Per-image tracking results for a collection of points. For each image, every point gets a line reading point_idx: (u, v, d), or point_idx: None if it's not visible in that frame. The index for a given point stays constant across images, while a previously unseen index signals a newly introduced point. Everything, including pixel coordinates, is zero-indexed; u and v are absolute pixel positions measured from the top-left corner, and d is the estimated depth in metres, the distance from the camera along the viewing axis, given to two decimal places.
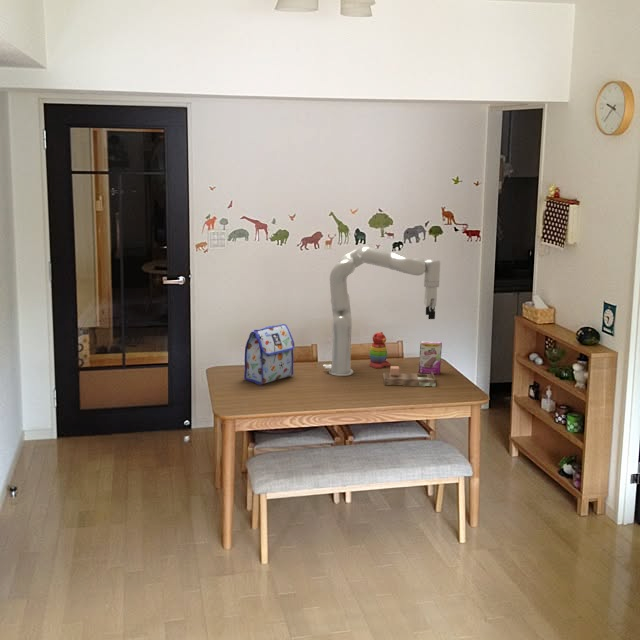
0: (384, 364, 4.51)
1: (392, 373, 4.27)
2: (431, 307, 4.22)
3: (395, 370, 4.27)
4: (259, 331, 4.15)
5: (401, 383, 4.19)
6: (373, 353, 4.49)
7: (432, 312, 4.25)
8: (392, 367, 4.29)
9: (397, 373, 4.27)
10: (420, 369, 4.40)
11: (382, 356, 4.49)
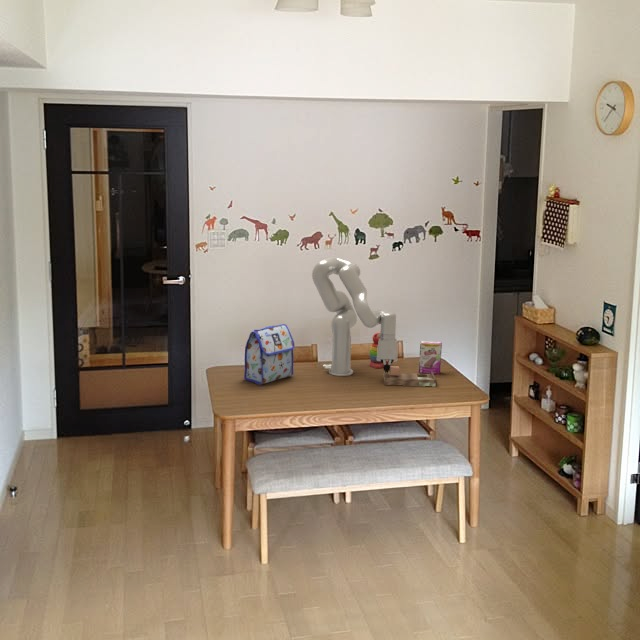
0: None
1: (392, 373, 4.27)
2: (393, 361, 4.27)
3: (395, 370, 4.27)
4: (259, 331, 4.15)
5: (401, 383, 4.19)
6: (373, 353, 4.49)
7: (389, 365, 4.29)
8: (392, 367, 4.29)
9: (397, 373, 4.27)
10: (420, 369, 4.40)
11: None
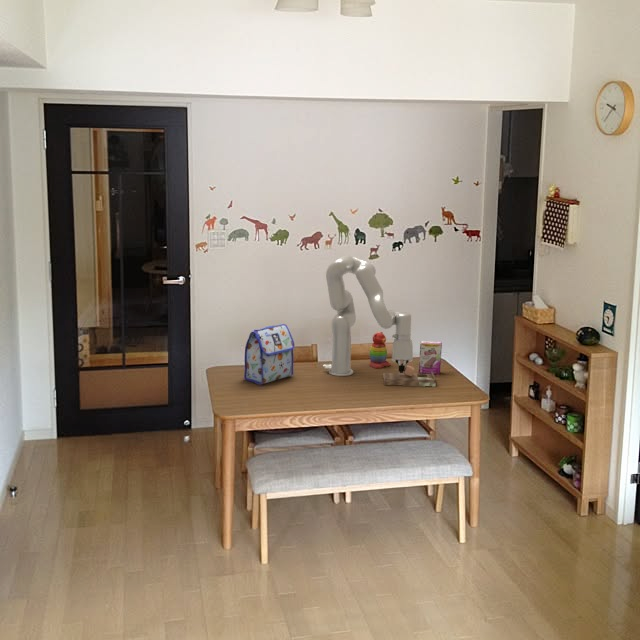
0: (384, 364, 4.51)
1: (406, 372, 4.27)
2: (408, 361, 4.27)
3: (410, 370, 4.27)
4: (259, 331, 4.15)
5: (401, 383, 4.19)
6: (373, 353, 4.49)
7: (404, 365, 4.29)
8: (408, 366, 4.28)
9: (411, 374, 4.27)
10: (420, 369, 4.40)
11: (382, 356, 4.49)
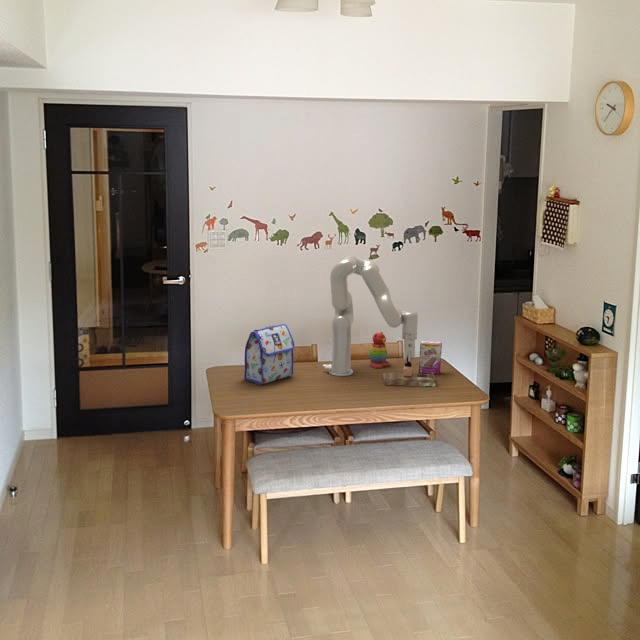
0: (384, 364, 4.51)
1: (405, 373, 4.27)
2: None
3: (408, 370, 4.27)
4: (259, 331, 4.15)
5: (401, 383, 4.19)
6: (373, 353, 4.49)
7: None
8: (405, 367, 4.28)
9: (410, 374, 4.27)
10: (420, 369, 4.40)
11: (382, 356, 4.49)
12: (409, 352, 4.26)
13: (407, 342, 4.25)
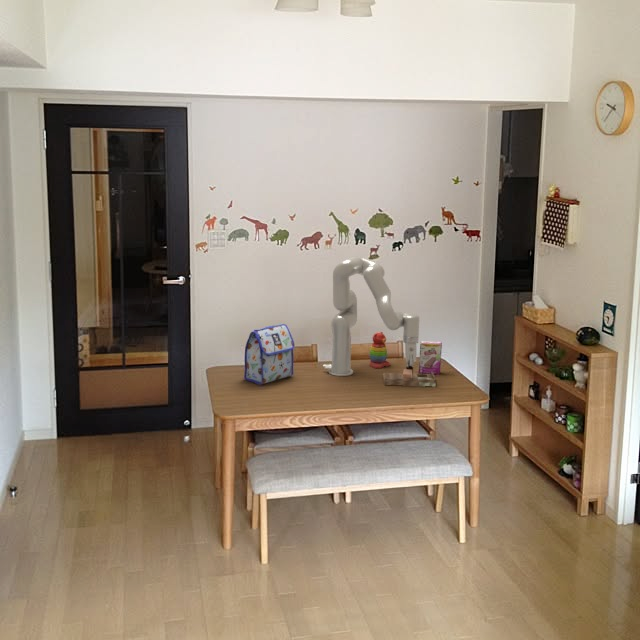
0: (384, 364, 4.51)
1: (404, 378, 4.21)
2: None
3: (407, 375, 4.20)
4: (259, 331, 4.15)
5: (401, 383, 4.19)
6: (373, 353, 4.49)
7: None
8: (405, 371, 4.21)
9: (409, 378, 4.20)
10: (420, 369, 4.40)
11: (382, 356, 4.49)
12: (410, 356, 4.19)
13: (408, 346, 4.18)
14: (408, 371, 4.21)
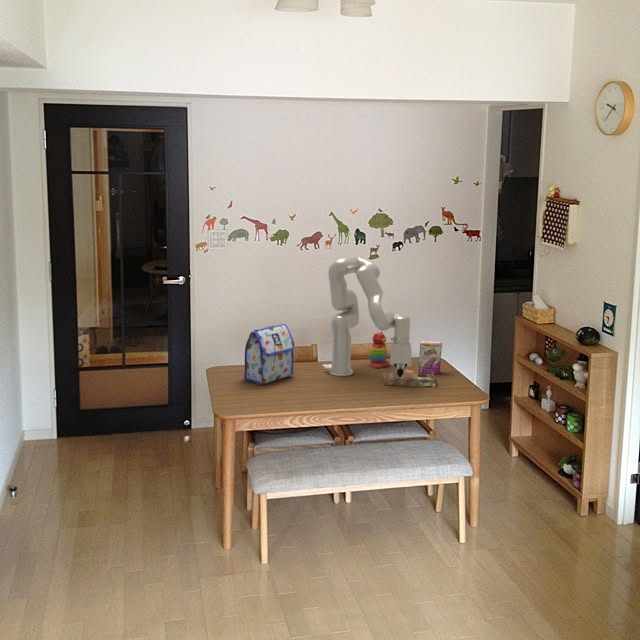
0: (384, 364, 4.51)
1: (405, 377, 4.21)
2: (407, 365, 4.20)
3: (408, 374, 4.20)
4: (259, 331, 4.15)
5: (401, 383, 4.19)
6: (373, 353, 4.49)
7: None
8: (406, 371, 4.22)
9: (410, 377, 4.20)
10: (420, 369, 4.40)
11: (382, 356, 4.49)
12: None
13: None
14: (409, 371, 4.22)
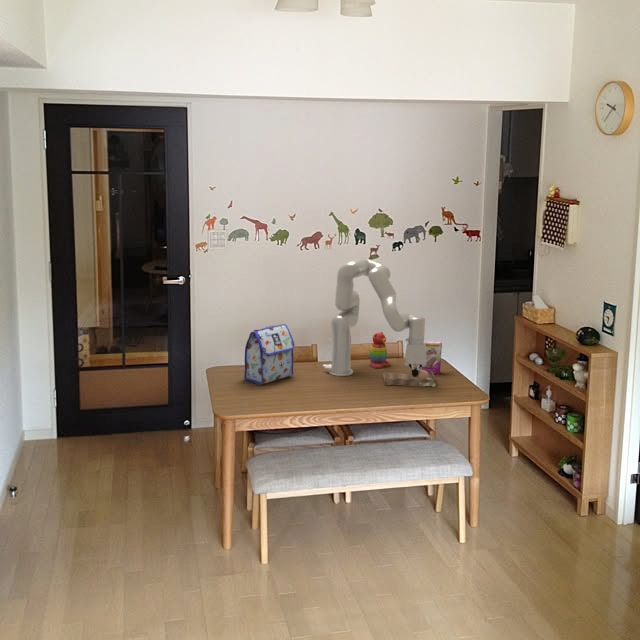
0: (384, 364, 4.51)
1: (420, 376, 4.21)
2: (422, 365, 4.20)
3: (424, 374, 4.21)
4: (259, 331, 4.15)
5: (401, 383, 4.19)
6: (373, 353, 4.49)
7: (418, 369, 4.21)
8: (421, 370, 4.22)
9: (424, 377, 4.21)
10: None
11: (382, 356, 4.49)
12: None
13: None
14: (423, 371, 4.23)
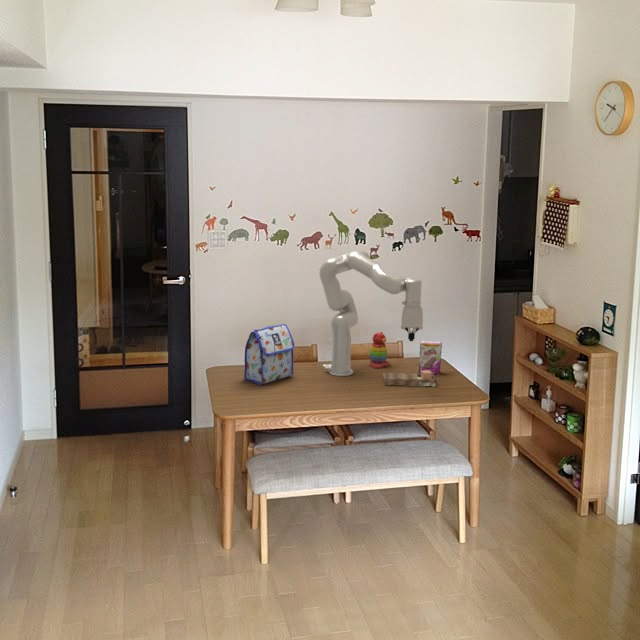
0: (384, 364, 4.51)
1: (425, 378, 4.21)
2: (418, 329, 4.16)
3: (428, 374, 4.21)
4: (259, 331, 4.15)
5: (401, 383, 4.19)
6: (373, 353, 4.49)
7: (414, 333, 4.17)
8: (424, 371, 4.22)
9: (430, 377, 4.21)
10: (420, 369, 4.40)
11: (382, 356, 4.49)
12: None
13: None
14: (427, 371, 4.23)
